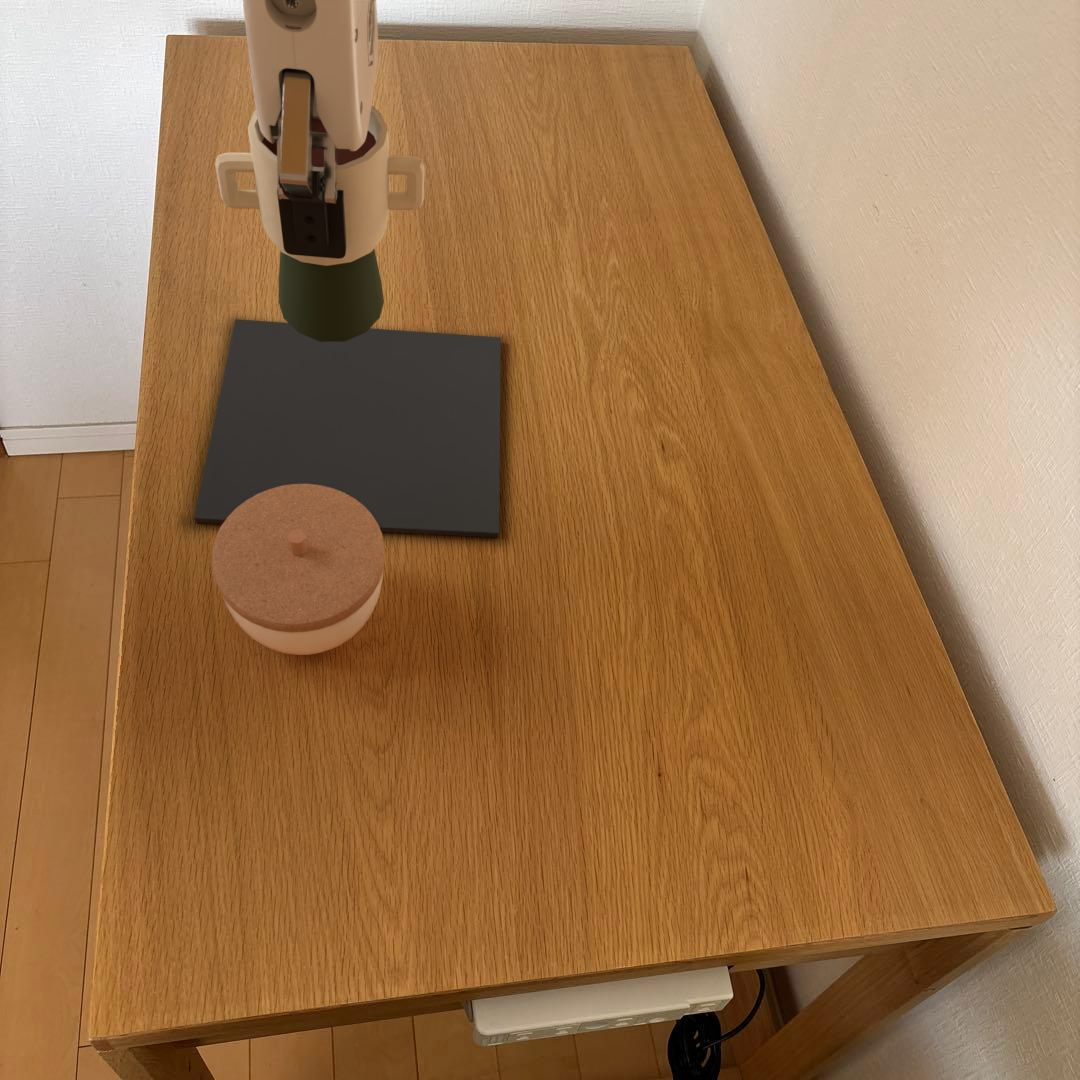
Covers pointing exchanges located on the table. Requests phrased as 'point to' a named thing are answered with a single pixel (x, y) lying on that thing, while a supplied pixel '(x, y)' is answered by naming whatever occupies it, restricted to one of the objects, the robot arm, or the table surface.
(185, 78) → the table surface
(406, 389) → the mat
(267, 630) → the trinket box
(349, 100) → the robot arm
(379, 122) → the character mug
